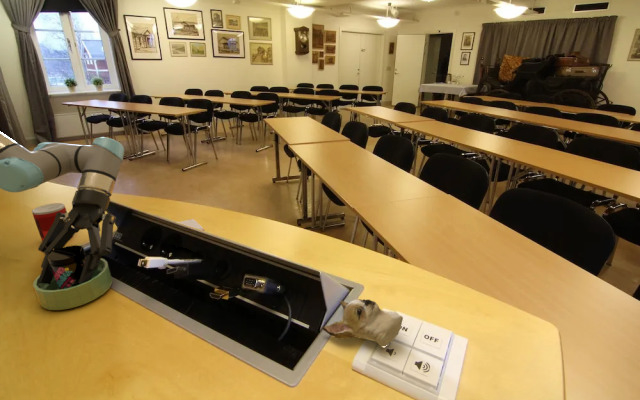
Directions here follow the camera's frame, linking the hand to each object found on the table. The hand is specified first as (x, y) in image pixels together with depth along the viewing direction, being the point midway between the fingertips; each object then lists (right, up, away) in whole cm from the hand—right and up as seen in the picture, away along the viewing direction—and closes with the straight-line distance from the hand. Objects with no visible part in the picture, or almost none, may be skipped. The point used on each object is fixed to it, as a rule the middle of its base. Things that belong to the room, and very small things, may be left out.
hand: (64, 283), depth 73 cm
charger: (+18, +5, +27) cm, 33 cm away
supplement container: (0, -3, +4) cm, 5 cm away
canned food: (-25, +6, +29) cm, 39 cm away
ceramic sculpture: (+68, -8, -8) cm, 69 cm away
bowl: (0, -3, +4) cm, 5 cm away
